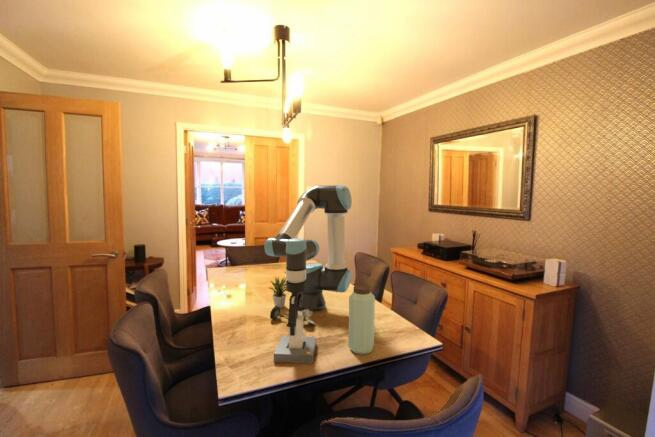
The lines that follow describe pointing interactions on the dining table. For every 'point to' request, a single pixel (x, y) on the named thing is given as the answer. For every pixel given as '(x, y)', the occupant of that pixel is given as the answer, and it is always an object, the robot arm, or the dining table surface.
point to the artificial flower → (276, 312)
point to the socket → (295, 351)
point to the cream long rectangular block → (298, 334)
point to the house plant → (279, 292)
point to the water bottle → (361, 319)
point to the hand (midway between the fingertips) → (296, 334)
